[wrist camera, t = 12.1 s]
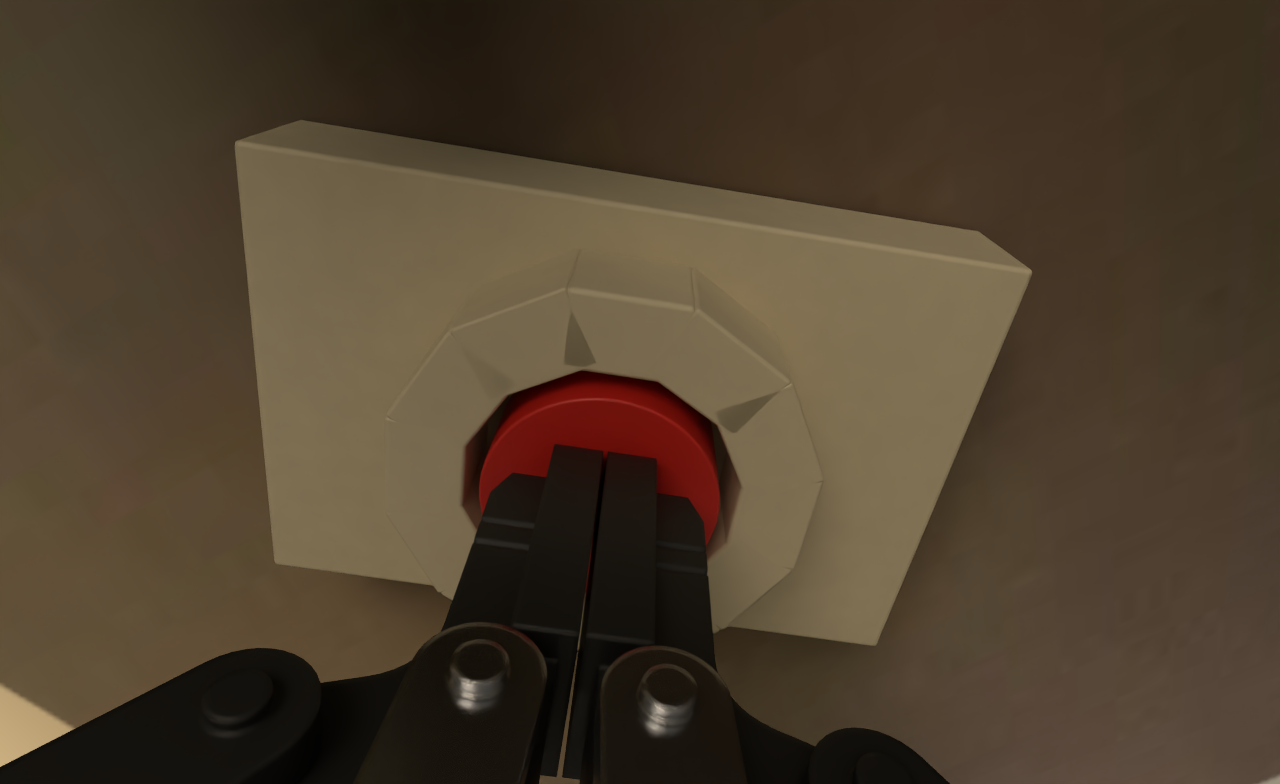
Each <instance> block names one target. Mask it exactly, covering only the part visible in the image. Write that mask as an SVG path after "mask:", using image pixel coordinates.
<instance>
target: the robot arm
mask: <svg viewBox="0 0 1280 784" xmlns="http://www.w3.org/2000/svg"><path fill="white" fill-rule="evenodd" d="M602 459H603V451H602V450H595V449H588V448H581V447H575V446H568V445H561V444H554V447H553V451H552V456H551V460H550V464H549V468H548V472H547V476H546V477H541V476H534V475H527V474H520V473H514V472H513V473H511V474H510V475H509V476H508V477H507V478H506V479H504V480H503V481H502V482H501V483H500V484H499V485H498V486H496V487H495V488H494V489H493V490H492V491H491V492H490V495H489V497H488V500H487V503H486V506H485V509H484V512H483V515H482V519H481V522H480V523H479V526H478V529H477V532H476V535H475V538H474V543H472V546H471V549H470V552H469V555H468V558H467V560H466V563H465V566H464V569H463V572H462V575H461V578H460V581H459V583H458V586H457V589H456V592H455V595H454V598H453V601H452V603H451V606H450V609H449V612H448V615H447V618H446V621H445V623H444V626H443V628H442V630H441V632H440V633H438V634H437V635H435V636H433V637H432V638H431V639H429V640H428V641H427V642H426V643H425V644H424V645H423V646H422V647H421V648H420V649H419V650H418V652H417V653H416V655H415V657H414V658H413V660H412V661H410V662H408V663H407V664H405V665H402V666H400V667H398V668H396V669H394V670H390V671H387V672H384V673H381V674H376V675H371V676H366V677H359V678H352V679H345V680H338V681H331V682H324V683H320V681H319V678H318V676H317V673H316V672H315V671H314V669H313V668H312V666H311V665H309V664H308V663H307V662H306V661H305V660H304V659H302V658H300V657H298V656H297V655H295V654H292V653H289V652H286V651H283V650H277V649H270V648H255V649H245V650H240V651H235V652H231V653H228V654H225V655H221V656H218V657H216V658H214V659H211V660H209V661H207V662H205V663H203V664H201V665H199V666H197V667H195V668H193V669H191V670H189V671H187V672H185V673H183V674H181V675H179V676H177V677H175V678H173V679H171V680H170V681H168V682H166V683H164V684H162V685H160V686H158V687H156V688H154V689H152V690H150V691H148V692H146V693H144V694H142V695H140V696H138V697H136V698H134V699H132V700H130V701H128V702H127V703H125V704H123V705H121V706H119V707H117V708H115V709H113V710H111V711H109V712H107V713H105V714H103V715H101V716H99V717H97V718H95V719H93V720H91V721H89V722H87V723H85V724H83V725H82V726H80V727H78V728H76V729H74V730H72V731H70V732H68V733H66V734H64V735H62V736H61V737H58V738H56V739H54V740H52V741H50V742H49V743H46V744H44V745H42V746H41V747H39V748H37V749H35V750H33V751H31V752H29V753H27V754H25V755H23V756H21V757H19V758H17V759H15V760H13V761H11V762H9V763H8V764H5V765H3V766H1V767H0V784H539V779H540V775H544V776H552V777H557V771H558V765H559V759H560V752H561V746H562V740H563V734H564V728H565V722H566V716H567V709H568V703H569V697H570V691H571V685H572V679H573V672H574V666H575V660H576V654H577V648H578V642H579V636H580V643H579V651H578V659H577V666H576V674H575V682H574V690H573V697H572V705H571V713H570V721H569V729H568V736H567V744H566V752H565V760H564V767H563V775H562V777H564V778H572V779H580V784H950V783H949V782H948V781H946V780H945V779H944V778H943V777H942V776H941V775H940V774H939V773H938V772H937V771H936V770H935V769H934V768H933V767H931V766H930V765H929V764H928V763H927V762H926V761H925V760H924V759H923V758H922V757H921V756H919V755H918V754H917V753H916V752H915V751H913V750H912V749H911V748H909V747H908V746H906V745H905V744H903V743H902V742H900V741H898V740H896V739H894V738H893V737H891V736H888V735H886V734H883V733H880V732H878V731H874V730H869V729H864V728H845V729H841V730H837V731H834V732H832V733H830V734H828V735H826V736H825V737H824V738H823V739H822V740H820V741H819V743H818V744H817V745H816V747H815V746H813V745H810V744H808V743H806V742H803V741H801V740H799V739H796V738H794V737H792V736H789V735H787V734H785V733H782V732H780V731H778V730H776V729H773V728H771V727H769V726H767V725H765V724H763V723H761V722H760V721H758V720H757V719H755V718H754V717H752V716H751V715H749V714H748V713H747V712H746V711H745V710H743V709H742V708H741V707H740V706H739V705H738V704H737V703H736V702H735V701H734V700H733V699H732V697H731V696H730V692H729V690H728V688H727V686H726V684H725V682H724V681H723V680H722V678H721V677H720V675H719V674H718V672H717V669H716V663H715V654H714V642H713V629H712V617H711V604H710V591H709V579H708V576H707V572H708V566H707V554H706V553H705V552H706V541H705V529H704V521H703V520H702V518H701V517H700V515H699V514H698V512H697V511H696V509H695V508H694V506H693V505H692V503H691V501H690V500H689V498H688V497H681V496H674V495H667V494H660V493H657V459H656V458H651V457H644V456H637V455H630V454H623V453H617V452H610V451H608V453H607V459H606V465H605V471H604V477H603V483H602V489H601V496H600V502H599V508H598V514H597V520H596V527H595V533H594V539H593V546H592V552H591V559H590V551H591V544H592V536H593V528H594V521H595V513H596V505H597V498H598V490H599V482H600V475H601V467H602ZM589 559H590V566H589ZM588 567H589V573H588ZM587 574H588V581H587ZM586 582H587V589H586ZM585 590H586V596H585ZM584 597H585V604H584ZM583 605H584V612H583ZM582 613H583V620H582ZM581 621H582V628H581ZM580 628H581V635H580Z"/></svg>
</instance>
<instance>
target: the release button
mask: <svg viewBox="0 0 1280 784" xmlns="http://www.w3.org/2000/svg"><path fill="white" fill-rule="evenodd" d="M554 444H561V445H568V446H575V447H581V448H588V449H595V450H602V451H603V459H602V467H601V475H600V482H599V490H598V498H597V505H596V513H595V521H594V528H593V536H592V544H591V551H590V559H591V552H592V546H593V539H594V533H595V527H596V520H597V514H598V508H599V502H600V496H601V489H602V483H603V477H604V471H605V465H606V459H607V453H608V451H610V452H617V453H623V454H630V455H637V456H644V457H651V458H656V459H657V493H660V494H667V495H674V496H681V497H688V498H689V500H690V501H691V503H692V505H693V506H694V508H695V509H696V511H697V512H698V514H699V515H700V517H701V518H702V520H703V521H704V529H705V541H706V545H707V544H708V542H709V540H710V538H711V536H712V534H713V532H714V529H715V526H716V523H717V521H718V515H719V509H720V490H719V481H718V472H717V464H716V455H715V446H714V437H713V430H712V424H711V421H710V420H709V419H708V418H706V417H705V416H704V415H702V414H701V413H699V412H698V411H697V410H695V409H694V408H693V407H691V406H690V405H689V404H687V403H686V402H685V401H683V400H682V399H680V398H679V397H678V396H676V395H675V394H674V393H672V392H671V391H670V390H668V389H667V388H666V387H664V386H663V385H661V384H660V383H659V382H656V381H649V380H643V379H636V378H629V377H623V376H616V375H610V374H603V373H596V372H590V371H583V370H581V371H578V372H575V373H572V374H569V375H566V376H563V377H560V378H557V379H555V380H552V381H549V382H546V383H543V384H540V385H537V386H534V387H531V388H528V389H525V390H522V391H519V392H516V393H513V394H512V395H511V397H510V399H509V401H508V403H507V405H506V407H505V410H504V413H503V415H502V418H501V420H500V423H499V425H498V428H497V431H496V433H495V436H494V438H493V441H492V443H491V446H490V448H489V451H488V454H487V456H486V459H485V462H484V465H483V468H482V471H481V476H480V482H479V500H480V506H481V512H482V515H483V512H484V509H485V506H486V503H487V500H488V497H489V495H490V492H491V491H492V490H493V489H494V488H495V487H496V486H498V485H499V484H500V483H501V482H502V481H503V480H504V479H506V478H507V477H508V476H509V475H510V474H511V473H513V472H514V473H520V474H527V475H534V476H541V477H546V476H547V472H548V468H549V464H550V460H551V456H552V451H553V447H554ZM590 559H589V566H590ZM588 573H589V567H588ZM587 581H588V574H587ZM586 589H587V582H586ZM585 594H586V590H585Z"/></svg>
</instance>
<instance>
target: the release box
mask: <svg viewBox="0 0 1280 784" xmlns="http://www.w3.org/2000/svg"><path fill="white" fill-rule="evenodd" d="M235 154H236V165H237V175H238V186H239V196H240V206H241V217H242V227H243V238H244V248H245V259H246V269H247V279H248V290H249V300H250V311H251V321H252V331H253V342H254V352H255V363H256V373H257V384H258V394H259V404H260V415H261V425H262V436H263V446H264V457H265V467H266V477H267V488H268V498H269V509H270V519H271V529H272V540H273V550H274V561H275V563H276V564H278V565H285V566H292V567H299V568H306V569H314V570H321V571H328V572H336V573H343V574H350V575H358V576H365V577H372V578H380V579H387V580H394V581H401V582H409V583H416V584H423V585H431V586H434V587H435V589H436V590H437V592H441V593H442V594H443V595H444V596H446V597H447V598H449V599H451V600H452V601H453V598H454V595H455V592H456V589H457V586H458V583H459V581H460V578H461V575H462V572H463V569H464V566H465V563H466V560H467V558H468V555H469V552H470V549H471V546H472V543H474V538H475V535H476V532H477V529H478V526H479V523H480V522H481V519H482V512H481V506H480V500H479V482H480V476H481V471H482V468H483V465H484V462H485V459H486V456H487V454H488V451H489V448H490V446H491V443H492V441H493V438H494V436H495V433H496V431H497V428H498V425H499V423H500V420H501V418H502V415H503V413H504V410H505V407H506V405H507V403H508V401H509V399H510V397H511V395H512V394H513V393H516V392H519V391H522V390H525V389H528V388H531V387H534V386H537V385H540V384H543V383H546V382H549V381H552V380H555V379H557V378H560V377H563V376H566V375H569V374H572V373H575V372H578V371H581V370H583V371H590V372H596V373H603V374H610V375H616V376H623V377H629V378H636V379H643V380H649V381H656V382H659V383H660V384H661V385H663V386H664V387H666V388H667V389H668V390H670V391H671V392H672V393H674V394H675V395H676V396H678V397H679V398H680V399H682V400H683V401H685V402H686V403H687V404H689V405H690V406H691V407H693V408H694V409H695V410H697V411H698V412H699V413H701V414H702V415H704V416H705V417H706V418H708V419H709V420H710V421H711V424H712V430H713V437H714V446H715V455H716V464H717V472H718V481H719V490H720V509H719V515H718V521H717V523H716V526H715V529H714V532H713V534H712V536H711V538H710V540H709V542H708V544H707V545H706V552H705V553H706V554H707V566H708V572H707V576H708V579H709V591H710V604H711V617H712V629H713V633H717V632H718V631H720V629H724V628H726V627H727V626H730V627H737V628H745V629H752V630H759V631H767V632H774V633H781V634H789V635H796V636H803V637H810V638H818V639H825V640H832V641H840V642H847V643H854V644H862V645H869V646H875V645H876V644H877V642H878V640H879V637H880V635H881V633H882V630H883V628H884V626H885V623H886V621H887V618H888V616H889V614H890V611H891V609H892V607H893V604H894V602H895V599H896V597H897V595H898V592H899V590H900V587H901V585H902V583H903V580H904V578H905V576H906V573H907V571H908V568H909V566H910V564H911V561H912V559H913V557H914V554H915V552H916V549H917V547H918V545H919V542H920V540H921V538H922V535H923V533H924V530H925V528H926V526H927V523H928V521H929V518H930V516H931V514H932V511H933V509H934V507H935V504H936V502H937V499H938V497H939V495H940V492H941V490H942V488H943V485H944V483H945V480H946V478H947V476H948V473H949V471H950V469H951V466H952V464H953V461H954V459H955V457H956V454H957V452H958V449H959V447H960V445H961V442H962V440H963V438H964V435H965V433H966V430H967V428H968V426H969V423H970V421H971V419H972V416H973V414H974V411H975V409H976V407H977V404H978V402H979V400H980V397H981V395H982V392H983V390H984V388H985V385H986V383H987V380H988V378H989V376H990V373H991V371H992V369H993V366H994V364H995V361H996V359H997V357H998V354H999V352H1000V350H1001V347H1002V345H1003V342H1004V340H1005V338H1006V335H1007V333H1008V331H1009V328H1010V326H1011V323H1012V321H1013V319H1014V316H1015V314H1016V311H1017V309H1018V307H1019V304H1020V302H1021V300H1022V297H1023V295H1024V292H1025V290H1026V288H1027V285H1028V283H1029V281H1030V278H1031V276H1032V270H1030V269H1029V268H1028V267H1026V266H1025V265H1024V264H1022V263H1021V262H1019V261H1018V260H1017V259H1015V258H1014V257H1013V256H1011V255H1010V254H1009V253H1007V252H1006V251H1004V250H1003V249H1002V248H1000V247H999V246H998V245H996V244H995V243H994V242H992V241H991V240H989V239H988V238H987V237H985V236H984V235H983V234H981V233H980V232H978V231H972V230H966V229H960V228H954V227H948V226H942V225H936V224H930V223H923V222H917V221H911V220H905V219H899V218H893V217H887V216H881V215H875V214H869V213H863V212H857V211H851V210H845V209H838V208H832V207H826V206H820V205H814V204H808V203H802V202H796V201H790V200H784V199H778V198H772V197H766V196H760V195H753V194H747V193H741V192H735V191H729V190H723V189H717V188H711V187H705V186H699V185H693V184H687V183H681V182H675V181H668V180H662V179H656V178H650V177H644V176H638V175H632V174H626V173H620V172H614V171H608V170H602V169H596V168H590V167H583V166H577V165H571V164H565V163H559V162H553V161H547V160H541V159H535V158H529V157H523V156H517V155H511V154H505V153H499V152H492V151H486V150H480V149H474V148H468V147H462V146H456V145H450V144H444V143H438V142H432V141H426V140H420V139H414V138H407V137H401V136H395V135H389V134H383V133H377V132H371V131H365V130H359V129H353V128H347V127H341V126H335V125H329V124H322V123H316V122H310V121H304V120H299V121H296V122H293V123H290V124H287V125H283V126H280V127H277V128H274V129H271V130H268V131H265V132H262V133H259V134H256V135H253V136H250V137H247V138H244V139H241V140H238V141H236V143H235ZM585 596H586V594H585ZM584 604H585V597H584ZM583 612H584V605H583ZM582 620H583V613H582ZM581 628H582V621H581ZM581 628H580V635H581ZM579 643H580V636H579V642H578V648H577V650H579Z"/></svg>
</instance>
